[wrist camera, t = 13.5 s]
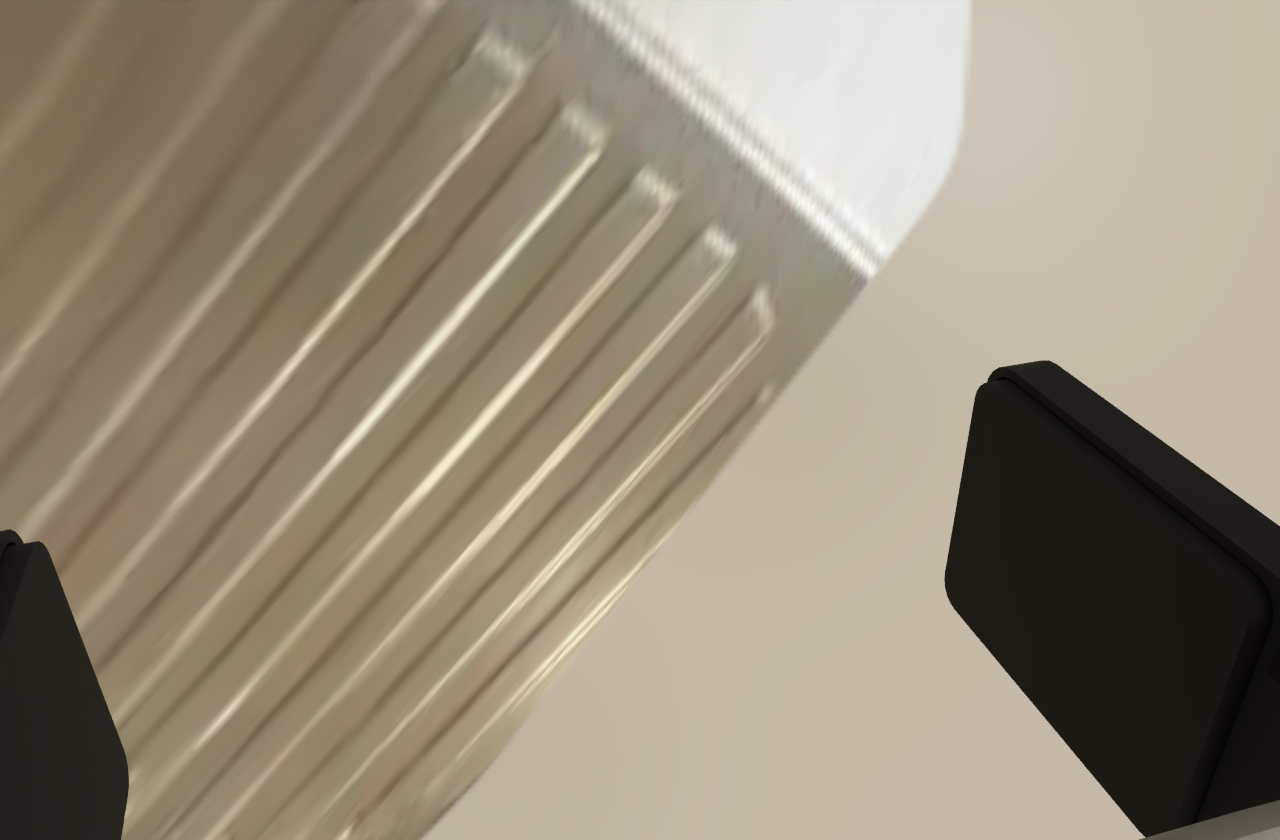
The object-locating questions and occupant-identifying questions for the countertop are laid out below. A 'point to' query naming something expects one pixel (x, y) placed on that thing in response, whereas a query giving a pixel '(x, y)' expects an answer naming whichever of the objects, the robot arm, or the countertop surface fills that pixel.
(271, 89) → the countertop surface
